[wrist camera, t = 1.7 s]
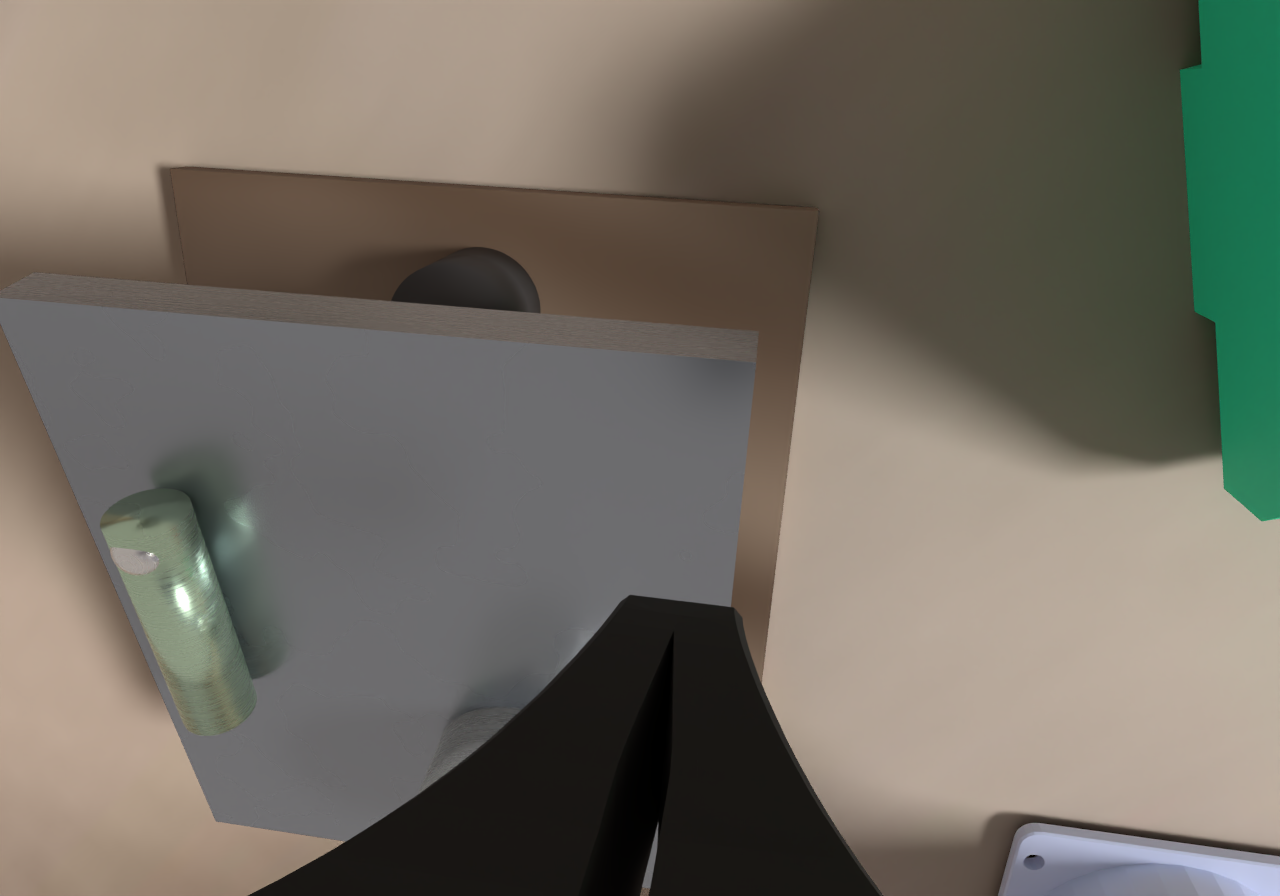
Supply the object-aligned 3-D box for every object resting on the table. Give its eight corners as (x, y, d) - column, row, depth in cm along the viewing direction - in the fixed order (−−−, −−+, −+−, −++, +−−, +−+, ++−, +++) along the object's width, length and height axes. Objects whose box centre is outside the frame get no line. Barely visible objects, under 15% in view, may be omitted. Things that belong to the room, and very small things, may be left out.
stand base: (744, 812, 24) (741, 894, 22) (269, 744, 26) (215, 813, 23) (817, 208, 18) (824, 225, 16) (186, 166, 20) (101, 176, 17)
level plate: (704, 855, 21) (687, 1040, 18) (237, 786, 22) (141, 945, 19) (758, 331, 13) (745, 488, 10) (33, 271, 15) (-188, 392, 11)
